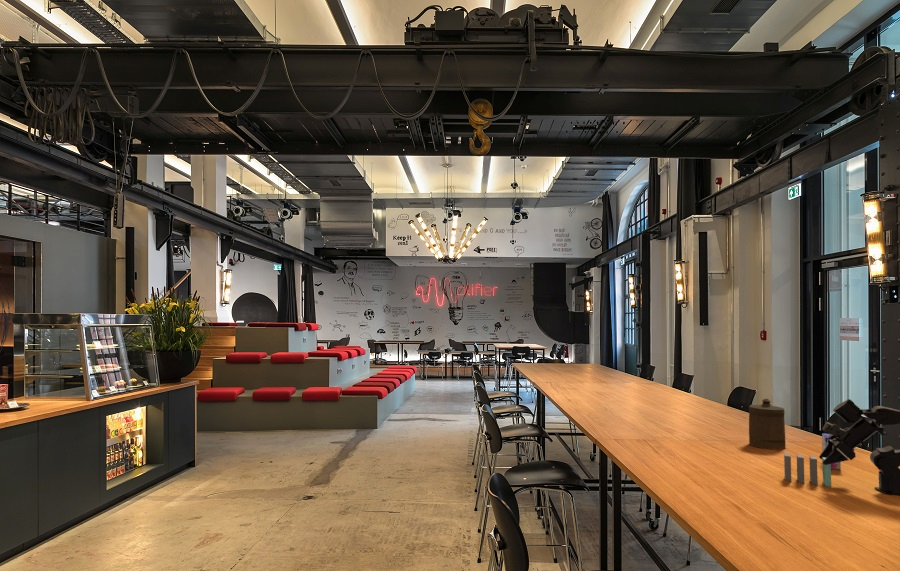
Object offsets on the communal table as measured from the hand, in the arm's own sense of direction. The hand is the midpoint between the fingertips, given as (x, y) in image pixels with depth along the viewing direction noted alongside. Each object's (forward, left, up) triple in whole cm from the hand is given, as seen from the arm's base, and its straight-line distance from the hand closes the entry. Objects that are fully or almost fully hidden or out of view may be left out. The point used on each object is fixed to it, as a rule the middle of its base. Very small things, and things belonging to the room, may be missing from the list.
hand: (821, 460), depth 197 cm
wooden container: (+62, -9, -8) cm, 63 cm away
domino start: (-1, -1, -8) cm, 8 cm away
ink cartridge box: (+27, -18, -8) cm, 33 cm away
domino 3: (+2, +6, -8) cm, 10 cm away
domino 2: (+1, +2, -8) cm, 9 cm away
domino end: (+4, +10, -8) cm, 13 cm away
